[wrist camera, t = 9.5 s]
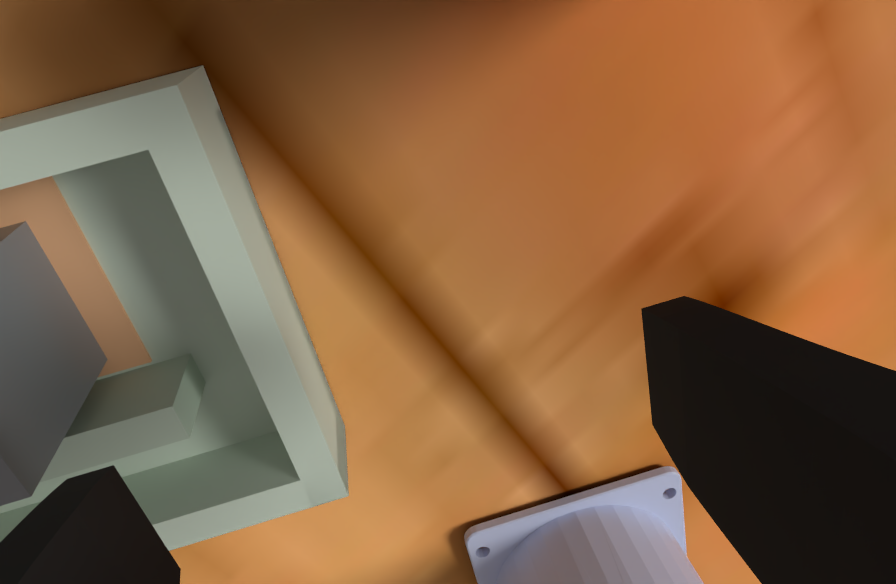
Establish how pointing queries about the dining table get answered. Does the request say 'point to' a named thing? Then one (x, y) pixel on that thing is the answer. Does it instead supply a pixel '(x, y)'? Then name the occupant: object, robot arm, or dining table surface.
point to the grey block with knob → (37, 362)
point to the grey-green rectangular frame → (173, 312)
